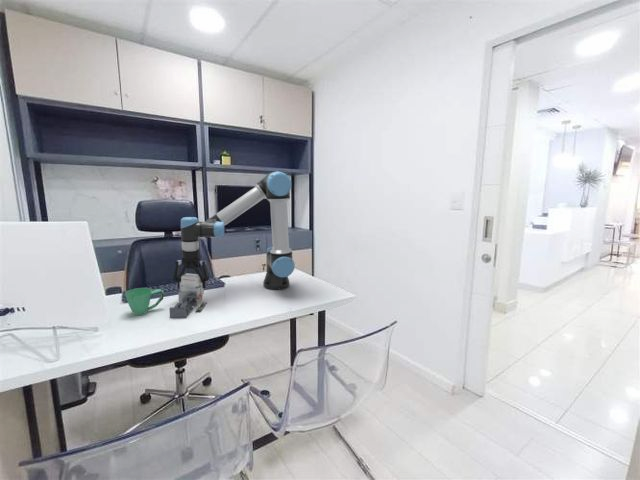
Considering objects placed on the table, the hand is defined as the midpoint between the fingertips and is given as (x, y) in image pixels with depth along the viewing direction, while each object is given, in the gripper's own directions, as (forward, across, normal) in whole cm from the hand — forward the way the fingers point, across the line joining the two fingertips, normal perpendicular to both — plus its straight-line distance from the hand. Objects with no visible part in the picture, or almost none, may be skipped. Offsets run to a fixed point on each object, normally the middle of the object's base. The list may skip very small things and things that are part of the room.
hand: (192, 294), depth 146 cm
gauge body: (+4, -2, +11) cm, 12 cm away
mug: (+4, +16, +12) cm, 21 cm away
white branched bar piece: (+3, -1, +10) cm, 10 cm away
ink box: (+2, 0, 0) cm, 2 cm away
